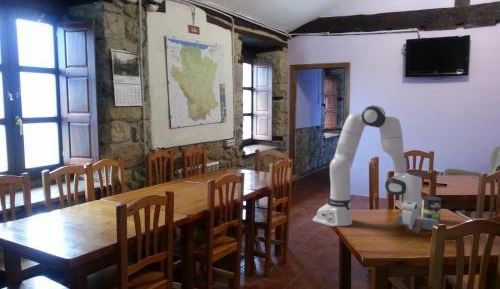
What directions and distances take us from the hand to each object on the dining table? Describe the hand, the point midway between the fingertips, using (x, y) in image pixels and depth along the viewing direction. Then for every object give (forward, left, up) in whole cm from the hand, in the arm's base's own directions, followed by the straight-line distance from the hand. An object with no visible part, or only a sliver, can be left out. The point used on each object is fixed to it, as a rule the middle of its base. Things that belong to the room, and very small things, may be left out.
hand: (411, 228), depth 211 cm
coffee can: (+4, +28, -3) cm, 29 cm away
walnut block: (0, +6, -3) cm, 7 cm away
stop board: (0, +14, -3) cm, 14 cm away
